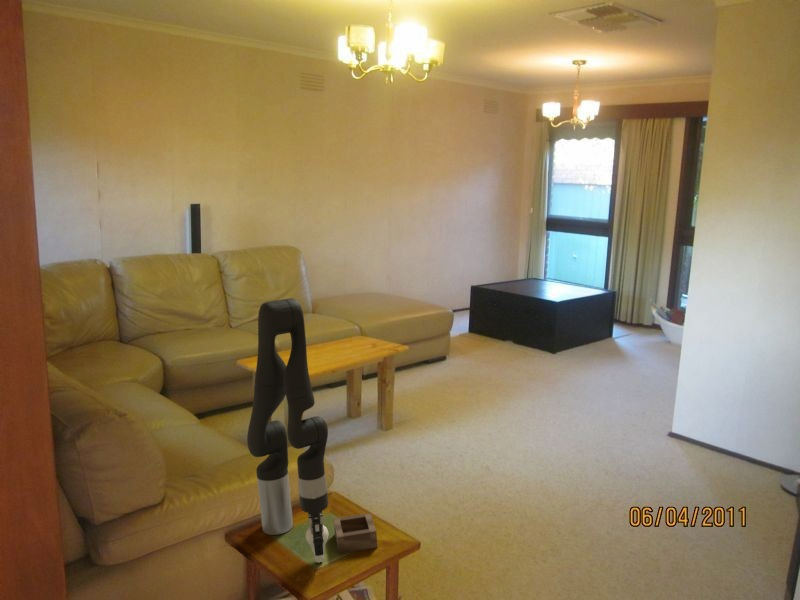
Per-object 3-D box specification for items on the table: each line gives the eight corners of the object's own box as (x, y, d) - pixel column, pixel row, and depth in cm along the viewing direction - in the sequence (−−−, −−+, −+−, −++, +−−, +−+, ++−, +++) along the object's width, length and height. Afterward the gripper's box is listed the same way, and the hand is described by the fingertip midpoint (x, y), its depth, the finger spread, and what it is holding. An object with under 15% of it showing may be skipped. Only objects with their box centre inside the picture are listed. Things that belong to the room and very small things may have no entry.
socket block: (334, 534, 191) (333, 518, 191) (371, 528, 193) (370, 513, 193) (338, 554, 181) (337, 537, 180) (377, 547, 183) (376, 531, 182)
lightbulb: (320, 553, 182) (316, 517, 180) (335, 560, 178) (332, 523, 176) (303, 563, 177) (300, 526, 175) (319, 571, 173) (315, 532, 171)
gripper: (297, 481, 180) (303, 537, 183) (300, 504, 166) (306, 565, 169) (324, 477, 182) (329, 533, 184) (329, 500, 168) (334, 560, 170)
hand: (318, 548), depth 177 cm, fingers closed on lightbulb, 6 cm apart
